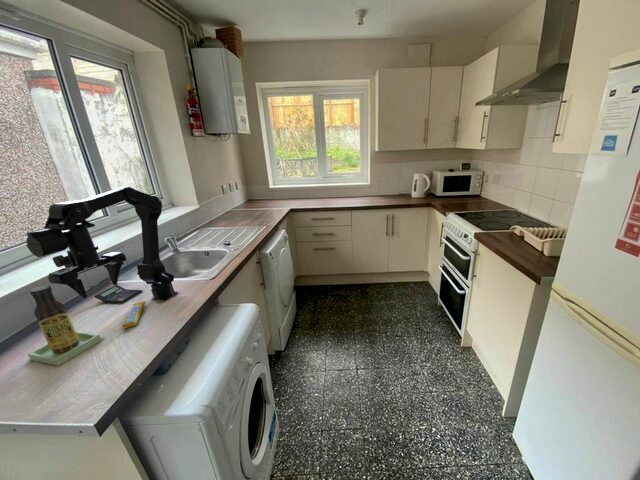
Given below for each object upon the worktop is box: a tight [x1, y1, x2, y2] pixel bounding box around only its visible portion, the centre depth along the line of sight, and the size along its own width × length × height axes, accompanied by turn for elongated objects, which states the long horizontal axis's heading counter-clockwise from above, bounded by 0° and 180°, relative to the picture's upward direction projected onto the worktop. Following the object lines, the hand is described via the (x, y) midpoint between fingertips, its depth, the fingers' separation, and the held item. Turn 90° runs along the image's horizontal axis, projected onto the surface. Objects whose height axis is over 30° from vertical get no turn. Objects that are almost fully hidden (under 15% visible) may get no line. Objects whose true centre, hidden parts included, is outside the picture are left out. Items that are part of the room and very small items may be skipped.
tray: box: [27, 330, 102, 367], centre depth 85 cm, size 12×12×2 cm
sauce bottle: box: [29, 284, 79, 354], centre depth 82 cm, size 6×6×20 cm
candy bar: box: [121, 300, 147, 329], centre depth 101 cm, size 17×4×2 cm, turn 24°
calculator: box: [94, 284, 143, 304], centre depth 115 cm, size 9×12×3 cm
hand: (100, 291), depth 92 cm, fingers open, 9 cm apart
